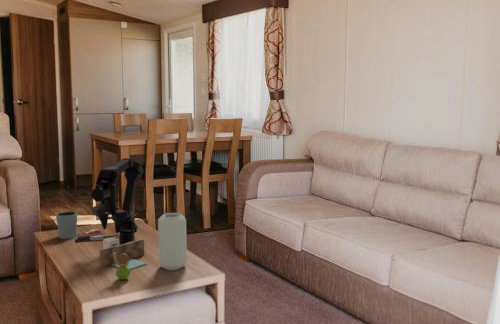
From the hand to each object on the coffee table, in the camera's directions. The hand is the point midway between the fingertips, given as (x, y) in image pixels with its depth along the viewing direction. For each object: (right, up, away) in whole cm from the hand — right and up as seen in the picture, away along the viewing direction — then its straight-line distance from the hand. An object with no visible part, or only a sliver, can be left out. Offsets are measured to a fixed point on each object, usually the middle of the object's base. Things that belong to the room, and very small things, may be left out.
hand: (110, 230), depth 226 cm
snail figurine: (+12, -15, -29) cm, 35 cm away
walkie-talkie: (-14, -8, +27) cm, 31 cm away
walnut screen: (+7, -12, -7) cm, 16 cm away
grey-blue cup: (-30, -7, +29) cm, 42 cm away
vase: (+30, -13, -15) cm, 36 cm away
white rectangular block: (0, -11, +1) cm, 11 cm away
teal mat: (+11, -13, -13) cm, 21 cm away
